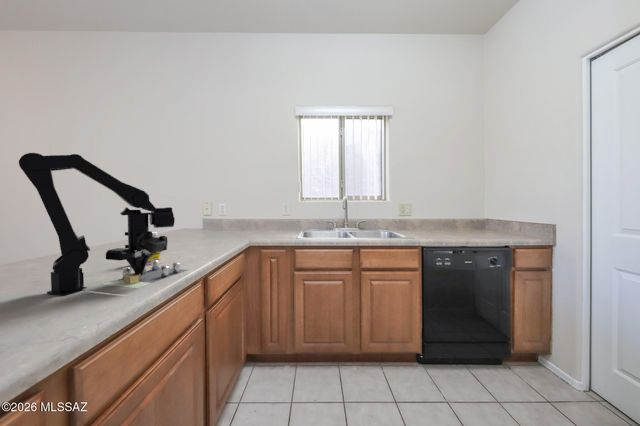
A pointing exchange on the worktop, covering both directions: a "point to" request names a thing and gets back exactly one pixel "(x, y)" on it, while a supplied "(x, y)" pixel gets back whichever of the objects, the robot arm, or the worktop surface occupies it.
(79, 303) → the worktop surface
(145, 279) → the mat
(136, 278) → the nut
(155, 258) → the supplement bottle
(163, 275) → the spacers
